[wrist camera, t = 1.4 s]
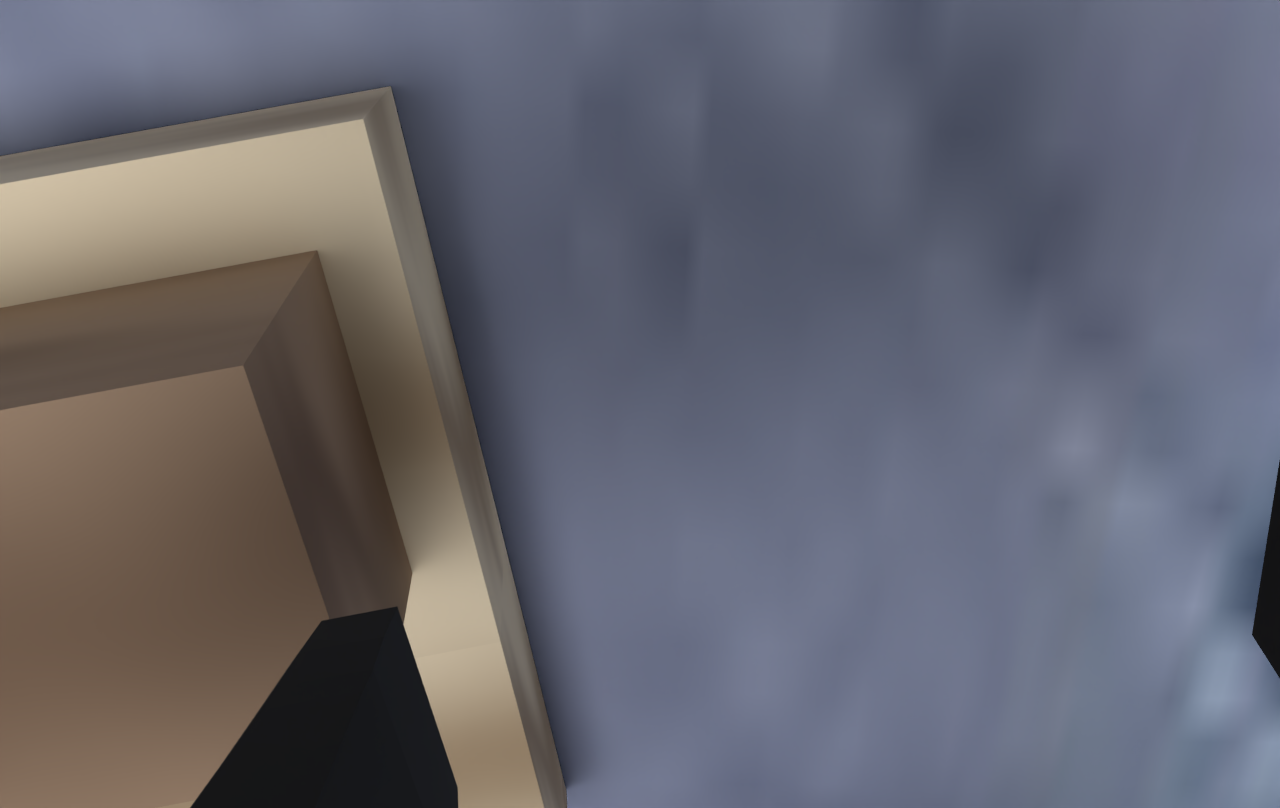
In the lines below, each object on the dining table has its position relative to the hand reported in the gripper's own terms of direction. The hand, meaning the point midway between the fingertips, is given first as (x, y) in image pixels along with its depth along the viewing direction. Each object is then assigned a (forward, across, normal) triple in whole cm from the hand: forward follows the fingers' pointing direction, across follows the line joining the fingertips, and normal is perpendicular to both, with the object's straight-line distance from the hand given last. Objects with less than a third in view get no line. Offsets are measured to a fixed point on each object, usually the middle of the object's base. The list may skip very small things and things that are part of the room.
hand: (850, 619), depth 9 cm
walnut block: (+7, +8, +1) cm, 10 cm away
